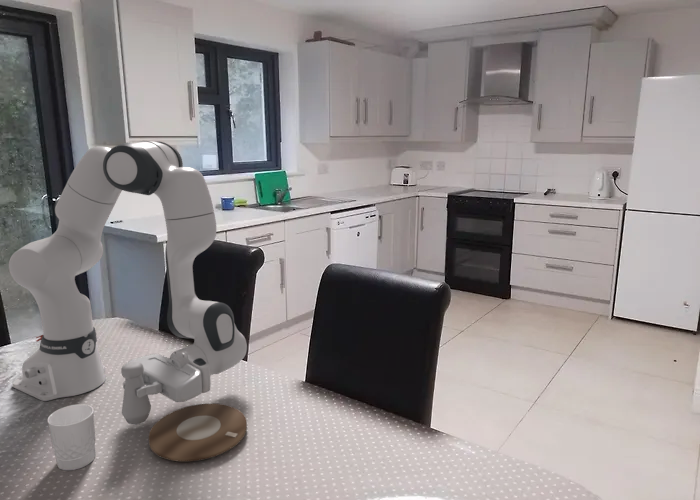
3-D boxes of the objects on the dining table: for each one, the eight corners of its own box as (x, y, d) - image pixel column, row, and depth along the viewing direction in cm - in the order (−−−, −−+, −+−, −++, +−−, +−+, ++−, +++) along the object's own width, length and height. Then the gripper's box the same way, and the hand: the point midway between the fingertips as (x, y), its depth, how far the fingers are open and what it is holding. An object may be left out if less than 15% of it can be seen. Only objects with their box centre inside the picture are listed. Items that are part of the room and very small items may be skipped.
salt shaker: (141, 428, 106) (135, 372, 103) (117, 425, 107) (110, 369, 104) (157, 413, 111) (152, 359, 108) (133, 410, 112) (128, 356, 109)
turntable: (127, 449, 102) (126, 443, 102) (188, 401, 120) (188, 396, 120) (212, 470, 96) (212, 465, 95) (263, 416, 114) (263, 411, 114)
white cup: (52, 477, 95) (46, 430, 93) (54, 454, 102) (48, 409, 99) (99, 465, 98) (94, 419, 96) (98, 444, 105) (93, 400, 103)
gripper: (159, 342, 123) (103, 362, 112) (213, 367, 111) (156, 391, 100) (161, 366, 124) (106, 388, 113) (214, 393, 112) (158, 420, 101)
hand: (130, 390), depth 107 cm, fingers closed on salt shaker, 3 cm apart
